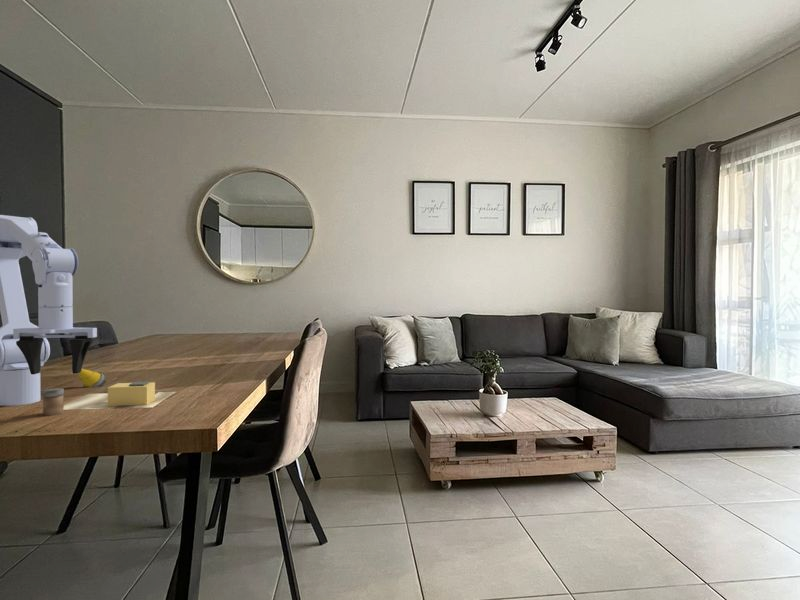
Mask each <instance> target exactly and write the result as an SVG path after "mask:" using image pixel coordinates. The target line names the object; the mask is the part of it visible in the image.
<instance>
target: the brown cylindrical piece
mask: <svg viewBox="0 0 800 600" xmlns="http://www.w3.org/2000/svg"><path fill="white" fill-rule="evenodd" d="M41 394H42V395H41V396H42V415H43V416H46V417H51V416H52V417H53V416H58V415H62V414H64V413H65V412H64V411H65V410H64V404H65V403H64V395H65V389H64V388H60V387H58V388H48V389H45V390H44V389H43V390H42V391H41Z"/></svg>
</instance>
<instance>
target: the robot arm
mask: <svg viewBox="0 0 800 600" xmlns="http://www.w3.org/2000/svg"><path fill="white" fill-rule="evenodd" d="M38 229H39V228H38V223H37V221H36V220H35V219H34V218H33V217H32V216H31V217H30V216H29V217H24V216H23V217H21V216H17V215H16V216H15V215H5V214H0V317H1V323H2V326H1V327H0V406H9V407H10V406H11V407H12V406H13V407H15V406H23V405H24V406H25V405H29V404H35V403H37V402H40V401H41V400H42V399H41V396H42V395H41V394H42V392H41V370H42V369H41V368H42V367H44V364H45V363H46V362H47V361H48V360H49V357H50V355H51V347H50V346H51V345H50V341H48V338H49V339H50V338H52V339H55V338H56V339H57V338H58V339H59V338H60V339H61V338H63V339H64V338H65V339H66V338H67V339H68V338H69V340H68V342H69V345H70V349H71V359H72V360H71V361H72V362H71V369H72V374H73V375H74V374H78V373H79V372H81V369H83V364H84V361H85V358H86V355H87V353H88V351H89V349H90V347H91V345H92V344H93V343H94V338H97V337H98V328H97V327H74V313H73V312H74V309H73V308H74V307H73V306H74V301H73V300H74V298H73V297H74V295H73V287H74V286H73V285H74V284H73V277H74V276H75V275H76V274H77V273H78V268H79V258H78V253H77V251H76V250H75V249H74V248H73V247H72V248H71V247H68V248H63V247H62V246H61V245H59V244H58V243H57V242H56V241H55V240H53V239H52V238H51V237H50V236H49V234H48V233H47V232H43V231H39V230H38ZM24 257H28V259H29V260H30V261H31V262H32V263H31V266H32V271H33V274H34V281H35V284H36V285H37V286H38V287H37V289H38V290H37V296H38V297H37V299H38V309H37V310H38V314H37V315H38V325H35V324H34V323H32V322H30V316H29V312H28V305H27V300H26V295H25V288H24V284H23V279H22V273H21V267H20V264H19V263H20V262H19V261H20V259H22V258H24ZM71 338H72V339H71Z"/></svg>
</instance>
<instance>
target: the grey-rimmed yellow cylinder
mask: <svg viewBox="0 0 800 600" xmlns="http://www.w3.org/2000/svg"><path fill="white" fill-rule="evenodd" d="M77 375H78V377H79V378H80V380H81V383H82V384H83V386H82V387H83V388H100V387H101V388H102V387H103V386H104V385H105V384H106V382H107V380H105V374H103V373H102V372H101V371H98V372H97V371H96V372H95V371H92V370H89V369H85V368H82V369H81V372H79V373H77Z"/></svg>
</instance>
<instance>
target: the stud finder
mask: <svg viewBox="0 0 800 600" xmlns="http://www.w3.org/2000/svg"><path fill="white" fill-rule="evenodd" d="M155 392H156V382H155V381H154V382H150V381H134V382H124V383H123V382H118V383H116V384H113V385H111V386H109V387H107V393H108V406H121V405H147V404H149V403H151V402H152V401H154V400H155Z"/></svg>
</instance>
